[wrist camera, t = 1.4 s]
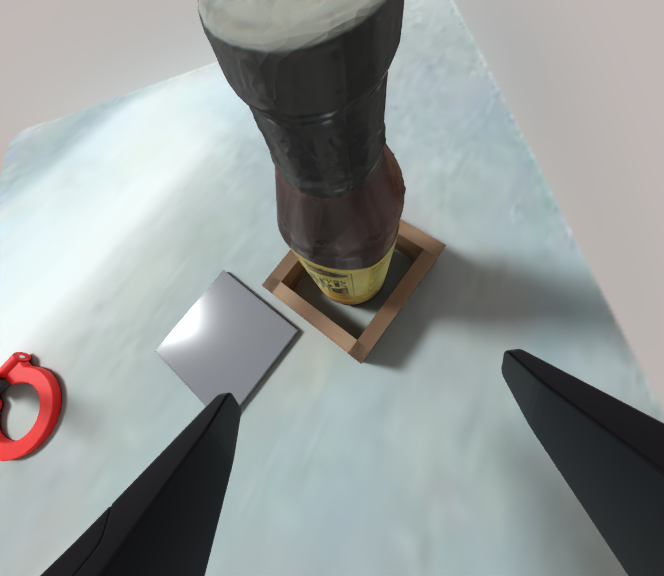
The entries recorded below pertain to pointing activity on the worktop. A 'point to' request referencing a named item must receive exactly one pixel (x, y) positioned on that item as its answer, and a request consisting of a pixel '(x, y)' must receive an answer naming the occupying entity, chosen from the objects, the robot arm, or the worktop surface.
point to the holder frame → (424, 256)
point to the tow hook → (50, 404)
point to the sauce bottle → (321, 126)
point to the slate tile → (226, 341)
